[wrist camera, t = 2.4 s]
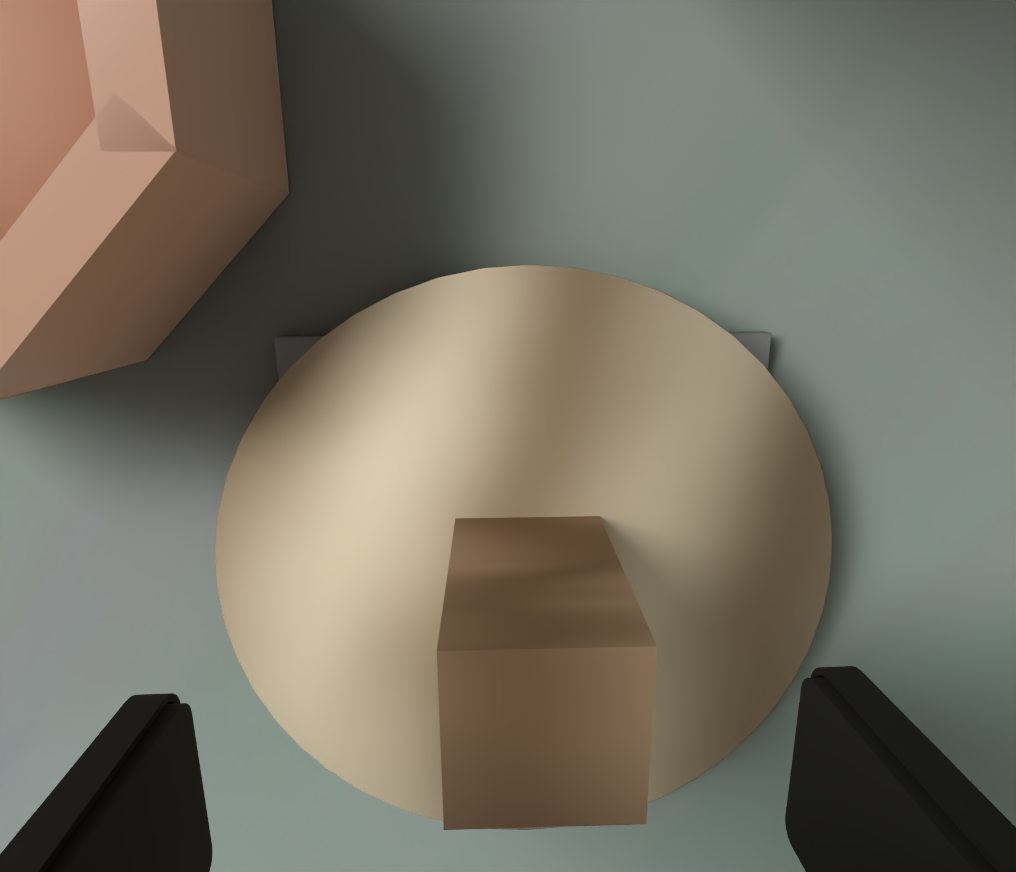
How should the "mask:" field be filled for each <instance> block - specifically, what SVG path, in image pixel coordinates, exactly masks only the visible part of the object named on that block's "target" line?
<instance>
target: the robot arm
mask: <svg viewBox="0 0 1016 872" xmlns="http://www.w3.org/2000/svg"><path fill="white" fill-rule="evenodd" d="M785 823H786V830H787V834H788V838H789V840H790V843H791V845H792V847H793V849H794V851H795V853H796V855H797V856H798V858H799V860H800V862H801V863H802V865H803V867H804V869H805V871H806V872H1016V827H1015V826H1014V825H1013V824H1012V823H1011V822H1010V821H1009V820H1008V819H1007V818H1006V817H1005V816H1004V815H1003V814H1002V813H1001V812H1000V811H999V810H998V809H997V808H996V807H995V806H994V805H993V804H992V803H991V802H990V801H989V800H988V799H987V798H986V797H985V796H984V795H983V794H982V793H981V792H980V791H979V790H978V789H977V788H976V787H975V786H974V785H973V784H972V783H971V782H970V781H969V780H968V779H967V778H966V777H965V776H964V775H963V774H962V773H961V771H960V770H959V769H958V768H957V767H956V766H955V765H954V764H953V763H952V762H951V761H950V760H949V759H948V758H947V757H946V756H945V755H944V754H943V753H942V752H941V751H940V750H939V749H938V748H937V747H936V746H935V745H934V744H933V743H932V742H931V741H930V740H929V739H928V738H927V737H926V736H925V735H924V734H923V733H922V732H921V731H920V730H919V729H918V728H917V727H916V726H915V725H914V724H913V723H912V722H911V721H910V720H909V719H908V718H907V717H906V716H905V715H904V714H903V713H902V712H901V711H900V710H899V709H898V708H897V707H896V706H895V705H894V704H893V703H892V702H891V701H890V700H889V699H888V698H887V697H886V696H885V695H884V694H883V692H882V691H881V690H880V689H879V688H878V687H877V686H876V685H875V684H874V683H873V682H872V681H871V680H870V679H869V678H868V677H867V676H866V675H865V674H864V673H863V672H862V671H861V670H859V669H858V668H857V667H853V666H845V667H820V668H816V669H815V670H814V671H813V673H812V675H811V678H806V679H804V681H803V683H802V687H801V694H800V703H799V711H798V719H797V727H796V735H795V743H794V751H793V760H792V768H791V776H790V784H789V792H788V800H787V808H786V817H785ZM211 861H212V843H211V836H210V830H209V823H208V817H207V810H206V803H205V797H204V790H203V784H202V777H201V770H200V764H199V757H198V751H197V744H196V737H195V731H194V724H193V718H192V712H191V708H190V706H189V705H188V704H186V703H182V704H180V700H179V698H178V697H177V695H175V694H173V693H172V694H147V695H134V696H131V697H130V698H129V699H128V700H127V701H126V702H125V703H124V704H123V705H122V707H121V708H120V709H119V710H118V712H117V713H116V714H115V715H114V716H113V718H112V719H111V720H110V721H109V723H108V724H107V725H106V726H105V727H104V729H103V730H102V731H101V732H100V734H99V735H98V736H97V737H96V738H95V740H94V741H93V742H92V743H91V745H90V746H89V747H88V748H87V749H86V751H85V752H84V753H83V754H82V756H81V757H80V758H79V759H78V760H77V762H76V763H75V764H74V765H73V767H72V768H71V769H70V770H69V771H68V773H67V774H66V775H65V776H64V778H63V779H62V780H61V781H60V782H59V784H58V785H57V786H56V787H55V789H54V790H53V791H52V792H51V793H50V795H49V796H48V797H47V798H46V800H45V801H44V802H43V803H42V804H41V806H40V807H39V808H38V809H37V811H36V812H35V813H34V814H33V815H32V816H31V817H30V819H29V820H28V821H27V822H26V824H25V825H24V826H23V827H22V828H21V830H20V831H19V832H18V833H17V835H16V836H15V837H14V838H13V839H12V841H11V842H10V843H9V844H8V846H7V847H6V848H5V849H4V850H3V852H2V853H1V854H0V872H209V871H210V867H211Z"/></svg>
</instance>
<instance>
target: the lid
mask: <svg viewBox="0 0 1016 872" xmlns="http://www.w3.org/2000/svg"><path fill="white" fill-rule="evenodd" d="M831 553H832V529H831V516H830V503H829V499H828V494H827V490H826V486H825V481H824V477H823V472H822V468H821V465H820V462H819V460H818V457H817V454H816V452H815V449H814V447H813V444H812V441H811V439H810V436H809V434H808V431H807V429H806V427H805V426H804V424H803V422H802V420H801V419H800V417H799V415H798V413H797V412H796V410H795V408H794V406H793V404H792V403H791V401H790V399H789V397H788V396H787V395H786V393H785V392H784V391H783V389H782V388H781V387H780V386H779V384H778V383H777V382H776V381H775V379H774V378H773V377H772V375H771V374H770V373H769V372H768V370H767V369H766V368H765V366H764V365H763V364H762V363H761V362H760V361H759V360H758V359H757V358H756V357H755V356H754V355H752V354H751V353H750V352H749V351H748V350H747V349H746V348H745V347H744V346H743V345H742V344H741V343H740V342H739V341H738V340H737V339H736V338H735V337H734V336H732V335H731V334H730V333H728V332H727V331H725V330H724V329H723V328H721V327H720V326H718V325H717V324H716V323H714V322H713V321H711V320H710V319H709V318H707V317H706V316H704V315H703V314H702V313H700V312H699V311H697V310H695V309H693V308H691V307H689V306H687V305H685V304H683V303H681V302H679V301H677V300H676V299H674V298H672V297H670V296H668V295H666V294H664V293H662V292H660V291H657V290H654V289H652V288H649V287H646V286H643V285H640V284H637V283H634V282H632V281H629V280H626V279H623V278H620V277H617V276H612V275H607V274H602V273H597V272H592V271H587V270H582V269H577V268H569V267H553V266H536V265H521V266H508V267H494V268H482V269H477V270H472V271H468V272H463V273H458V274H454V275H449V276H444V277H439V278H436V279H433V280H430V281H428V282H425V283H422V284H419V285H416V286H414V287H411V288H408V289H405V290H403V291H400V292H397V293H394V294H393V295H391V296H389V297H387V298H385V299H383V300H381V301H379V302H377V303H375V304H373V305H372V306H370V307H368V308H366V309H364V310H362V311H360V312H358V313H356V314H355V315H353V316H352V317H350V318H349V319H348V320H346V321H345V322H343V323H342V324H341V325H339V326H338V327H336V328H335V329H334V330H332V331H331V332H329V333H328V334H327V335H325V336H324V337H322V338H321V339H320V340H318V341H317V342H316V343H315V344H314V345H313V346H312V347H311V348H310V349H309V350H308V351H307V352H306V353H305V354H304V355H303V356H302V357H301V358H300V359H299V360H298V361H296V362H295V363H294V364H293V365H292V366H291V367H290V368H289V369H288V370H287V372H286V373H285V374H284V375H283V377H282V378H281V379H280V380H279V382H278V383H277V384H276V386H275V387H274V388H273V389H272V391H271V392H270V393H269V394H268V396H267V397H266V398H265V400H264V401H263V402H262V404H261V405H260V407H259V409H258V411H257V412H256V414H255V416H254V418H253V419H252V421H251V423H250V424H249V426H248V428H247V430H246V431H245V433H244V435H243V437H242V439H241V441H240V444H239V446H238V449H237V451H236V454H235V456H234V459H233V461H232V464H231V466H230V469H229V471H228V474H227V477H226V482H225V486H224V490H223V495H222V499H221V503H220V508H219V512H218V522H217V534H216V546H215V558H216V573H217V589H218V593H219V598H220V603H221V607H222V612H223V617H224V622H225V626H226V628H227V631H228V634H229V637H230V639H231V642H232V645H233V648H234V650H235V653H236V656H237V659H238V660H239V662H240V664H241V666H242V668H243V670H244V672H245V674H246V676H247V677H248V679H249V681H250V683H251V685H252V687H253V689H254V691H255V692H256V693H257V695H258V696H259V698H260V699H261V700H262V702H263V703H264V705H265V706H266V707H267V709H268V710H269V712H270V713H271V714H272V716H273V717H274V719H275V720H276V721H277V722H278V723H279V724H280V725H281V726H282V727H283V729H284V730H285V731H286V732H287V733H288V734H289V735H290V736H291V737H292V738H293V739H294V740H295V741H296V743H297V744H298V745H299V746H300V747H302V748H303V749H304V750H305V751H306V752H308V753H309V754H310V755H311V756H312V757H314V758H315V759H316V760H317V761H318V762H320V763H321V764H322V765H323V766H324V767H325V768H327V769H328V770H330V771H331V772H333V773H334V774H336V775H337V776H339V777H340V778H342V779H344V780H345V781H347V782H348V783H350V784H351V785H353V786H354V787H356V788H358V789H360V790H362V791H364V792H366V793H368V794H370V795H372V796H374V797H376V798H378V799H380V800H382V801H384V802H386V803H388V804H390V805H393V806H396V807H399V808H401V809H404V810H407V811H410V812H412V813H415V814H418V815H421V816H424V817H428V818H433V819H437V820H441V821H444V830H455V829H518V830H530V829H542V828H554V827H564V826H595V825H630V824H646V817H647V803H649V802H652V801H654V800H656V799H659V798H661V797H663V796H665V795H667V794H669V793H671V792H673V791H674V790H676V789H678V788H680V787H682V786H683V785H685V784H687V783H689V782H691V781H692V780H694V779H696V778H697V777H699V776H700V775H701V774H703V773H704V772H706V771H707V770H708V769H710V768H711V767H713V766H714V765H715V764H717V763H718V762H720V761H721V760H722V759H724V758H725V757H726V756H727V755H728V754H730V753H731V752H732V751H733V750H734V749H735V748H736V747H737V746H738V745H740V744H741V743H742V742H743V741H744V740H745V739H746V738H747V737H748V736H749V735H751V734H752V732H753V731H754V730H755V729H756V728H757V727H758V726H759V724H760V723H761V722H762V721H763V720H764V719H765V718H766V716H767V715H768V714H769V713H770V712H771V711H772V710H773V708H774V707H775V706H776V704H777V703H778V701H779V700H780V698H781V697H782V695H783V694H784V692H785V691H786V690H787V688H788V687H789V685H790V684H791V682H792V681H793V679H794V678H795V676H796V674H797V672H798V670H799V668H800V666H801V664H802V662H803V660H804V658H805V656H806V654H807V652H808V650H809V648H810V646H811V644H812V641H813V638H814V635H815V632H816V629H817V627H818V624H819V621H820V618H821V615H822V612H823V608H824V603H825V598H826V593H827V589H828V584H829V579H830V568H831Z"/></svg>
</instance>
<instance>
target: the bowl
mask: <svg viewBox="0 0 1016 872" xmlns="http://www.w3.org/2000/svg"><path fill="white" fill-rule="evenodd" d="M289 193H290V192H289V184H288V173H287V162H286V151H285V140H284V129H283V118H282V107H281V96H280V85H279V74H278V62H277V51H276V40H275V29H274V18H273V7H272V0H0V399H4V398H7V397H11V396H15V395H19V394H22V393H26V392H30V391H34V390H37V389H41V388H45V387H49V386H52V385H56V384H60V383H64V382H67V381H71V380H75V379H79V378H82V377H86V376H90V375H94V374H97V373H101V372H105V371H109V370H112V369H116V368H120V367H124V366H127V365H131V364H135V363H139V362H142V361H146V360H148V358H149V357H150V356H151V355H152V354H153V352H154V351H155V350H156V349H157V348H158V347H159V345H160V344H161V343H162V342H163V341H164V340H165V338H166V337H167V336H168V335H169V334H170V333H171V331H172V330H173V329H174V328H175V327H176V325H177V324H178V323H179V322H180V321H181V320H182V318H183V317H184V316H185V315H186V314H187V313H188V311H189V310H190V309H191V308H192V307H193V306H194V304H195V303H196V302H197V301H198V300H199V299H200V297H201V296H202V295H203V294H204V293H205V291H206V290H207V289H208V288H209V287H210V286H211V284H212V283H213V282H214V281H215V280H216V279H217V277H218V276H219V275H220V274H221V273H222V272H223V270H224V269H225V268H226V267H227V266H228V265H229V263H230V262H231V261H232V260H233V259H234V257H235V256H236V255H237V254H238V253H239V252H240V250H241V249H242V248H243V247H244V246H245V245H246V243H247V242H248V241H249V240H250V239H251V238H252V236H253V235H254V234H255V233H256V232H257V231H258V229H259V228H260V227H261V226H262V225H263V223H264V222H265V221H266V220H267V219H268V218H269V216H270V215H271V214H272V213H273V212H274V211H275V209H276V208H277V207H278V206H279V205H280V204H281V202H282V201H283V200H284V199H285V198H286V196H287V195H288V194H289Z"/></svg>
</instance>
